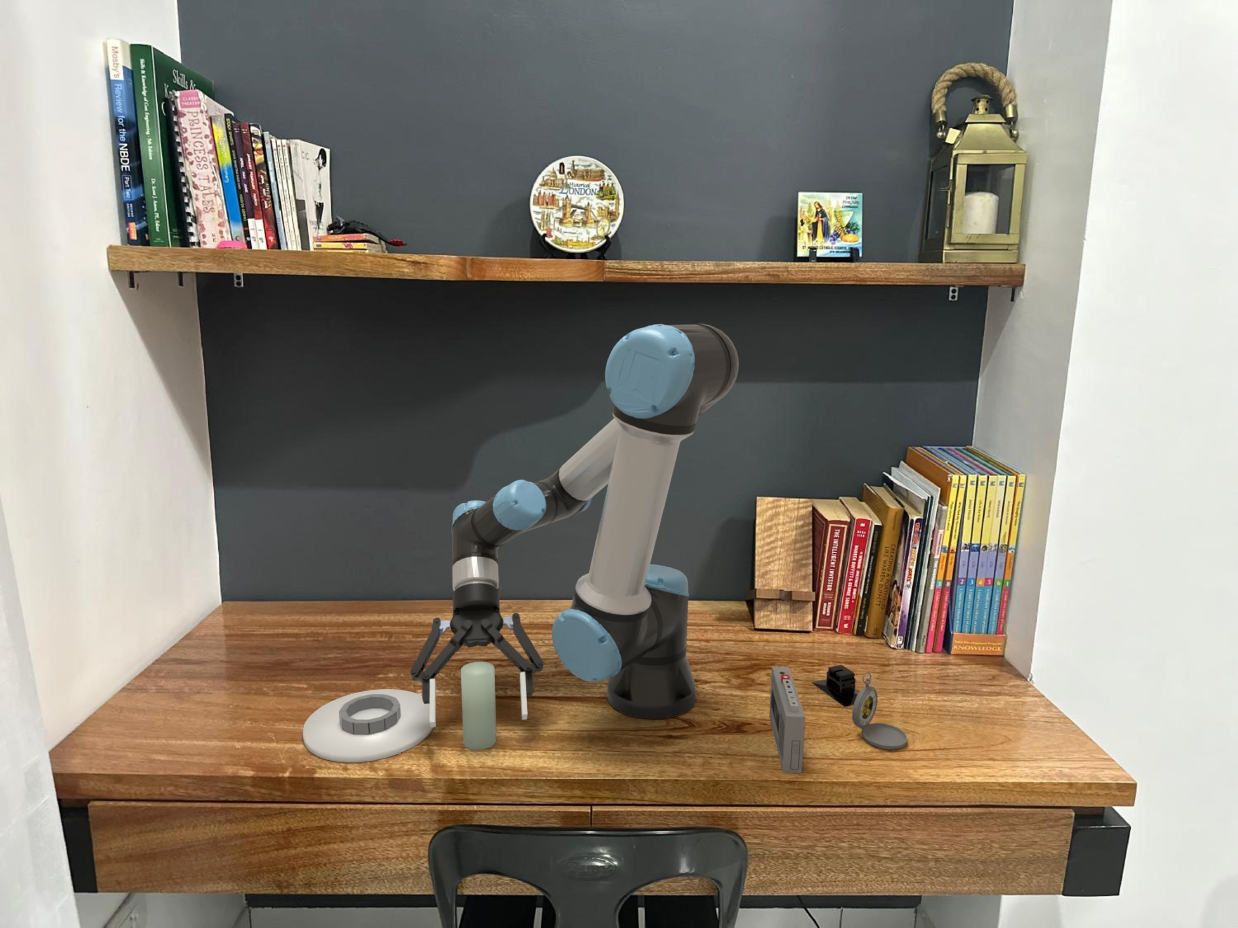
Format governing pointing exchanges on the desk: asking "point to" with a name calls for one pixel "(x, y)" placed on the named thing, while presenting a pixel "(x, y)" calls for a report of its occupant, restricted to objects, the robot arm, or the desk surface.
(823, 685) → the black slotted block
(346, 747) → the carrier plate
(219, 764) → the desk surface
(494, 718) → the sage green cylinder
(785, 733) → the cassette player
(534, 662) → the robot arm
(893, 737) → the pocket watch
